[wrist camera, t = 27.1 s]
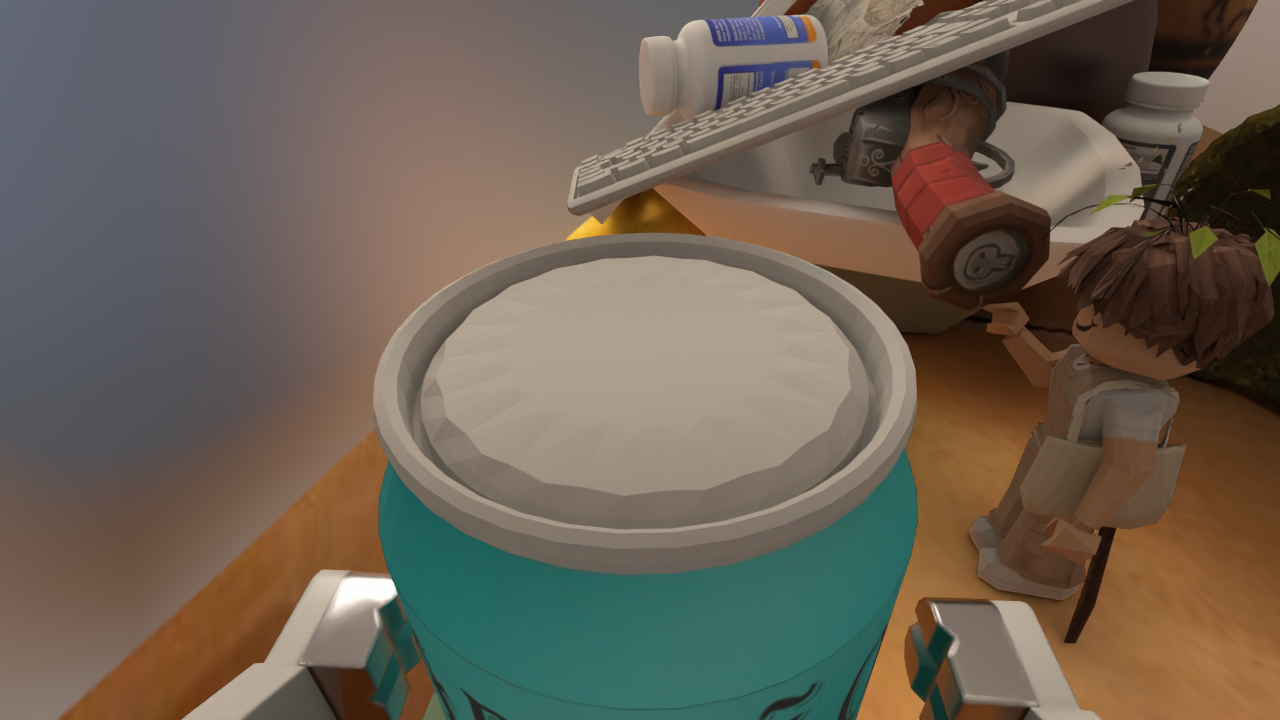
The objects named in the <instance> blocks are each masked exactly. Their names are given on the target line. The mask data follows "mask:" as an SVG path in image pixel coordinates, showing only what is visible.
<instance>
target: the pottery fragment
mask: <svg viewBox="0 0 1280 720" xmlns="http://www.w3.org/2000/svg"><path fill="white" fill-rule="evenodd" d="M1188 166H1189V167H1187V169H1186V170H1185V171H1184V172H1183V173H1182V175H1181V177H1180V178H1179V179H1178V180H1177V181H1176V184H1175V185H1176V186H1174V188H1175V190H1178V189H1180V190H1179V192H1178V193H1179V194H1180V195H1181V197H1183V196H1184V197H1183V199H1184V200H1185V201H1186V217H1187V219H1188V221H1189V222H1194V223H1199V221H1200V220H1201V219H1202V218H1203V216H1204V215H1205V214H1206V213H1207V212H1208V211H1210V210H1212V209H1213V207H1216V208H1218V207H1219V206H1220V205H1221V204H1222V203H1223V202H1224V201H1225V200H1226V199H1227V198H1228V197H1229V196H1230V195H1231V194H1233V195H1231V196H1230V197H1229V198H1228V199H1227V200H1226V201H1225V202H1224V203H1223V204H1222V205H1221V206H1220V207H1219V208H1221V209H1223V210H1225V211H1226V212H1228V213H1230V214H1231V215H1233V216H1234V215H1237V216H1238V217H1237V216H1234V217H1236V218H1238V219H1239V220H1238V219H1236V218H1234V217H1233V216H1232V217H1229V216H1231V215H1229V214H1228V215H1229V216H1228V217H1229V218H1230V219H1231V221H1232V222H1233V223H1234V224H1235V226H1237V228H1238V229H1239V230H1238V229H1237V228H1236V227H1235V226H1234V225H1233V224H1232V222H1231V221H1230V220H1229V223H1230V226H1231V229H1230V226H1229V233H1231V234H1233V235H1240V234H1241V233H1242V234H1248V235H1249V236H1250V238H1252V239H1255V240H1259V238H1260V237H1261V236H1262V235H1263V234H1264V233H1265V230H1264V229H1263V228H1259V227H1262V226H1261V224H1260V223H1259V222H1258V221H1257V219H1256V218H1255V217H1254V215H1253V214H1252V213H1249V211H1250V212H1253V213H1254V214H1255V215H1256V217H1257V218H1258V219H1259V221H1260V222H1261V223H1262V225H1263V226H1264V227H1265V228H1269V229H1271V230H1274V231H1275V232H1276V233H1277V234H1278V235H1279V236H1280V200H1277V199H1279V198H1280V105H1278V106H1276V107H1275V108H1273V109H1270V110H1266V111H1263V112H1261V113H1258V114H1256V115H1252V116H1250V117H1248V118H1247V119H1246V120H1245V121H1244V122H1243V123H1242V124H1240V125H1239V126H1237V127H1236V128H1234V129H1231V130H1229V131H1228V132H1227V133H1225V134H1223V135H1222V136H1220V137H1219V138H1217V139H1216V140H1214V141H1213V142H1212V143H1211V144H1210V145H1209V147H1208V148H1207V149H1206V150H1205V151H1204V152H1203V153H1202V154H1200V155H1199V156H1198V157H1197V158H1196V159H1195V160H1193V161H1192V162H1191V163H1190V164H1189V165H1188ZM1193 171H1194V172H1193ZM1192 172H1193V174H1192ZM1196 179H1197V180H1196ZM1192 188H1193V189H1192ZM1189 189H1191V190H1190V191H1188V190H1189ZM1249 189H1250V190H1251V191H1248V190H1249ZM1175 190H1173V191H1175ZM1252 190H1270V198H1271V200H1270V199H1268V198H1266V197H1264V196H1262V195H1260V194H1258V193H1256V192H1254V191H1252ZM1244 191H1247V192H1244ZM1240 192H1242V193H1240ZM1235 193H1238V194H1235ZM1179 194H1177V195H1175V194H1174V196H1175V198H1176V200H1177V202H1178V205H1179V207H1180V209H1181V211H1182V214H1183V216H1184V213H1183V211H1184V209H1185V202H1184V201H1183V199H1182V200H1180V198H1181V197H1180V196H1179ZM1174 196H1173V195H1172V202H1176V201H1175V199H1174ZM1176 196H1177V197H1176ZM1177 198H1178V199H1177ZM1178 200H1179V201H1178ZM1275 200H1277V201H1275ZM1272 201H1275V202H1272ZM1270 202H1272V203H1270ZM1179 203H1180V204H1179ZM1268 203H1270V204H1268ZM1265 204H1267V205H1265ZM1180 205H1181V206H1180ZM1210 205H1211V206H1210ZM1263 205H1265V206H1263ZM1212 206H1213V207H1212ZM1261 206H1262V207H1261ZM1181 207H1182V208H1181ZM1258 207H1260V208H1258ZM1256 208H1257V209H1256ZM1182 209H1183V210H1182ZM1254 209H1255V210H1254ZM1215 210H1216V209H1214V210H1212V211H1210V212H1208V213H1207V214H1206V216H1205V217H1204V219H1205V218H1206V217H1207V216H1210V215H1211V214H1212V213H1213V212H1214V211H1215ZM1251 210H1253V211H1251ZM1247 212H1248V213H1247ZM1244 213H1247V214H1244ZM1239 214H1243V215H1239ZM1171 217H1178V212H1177V209H1174V208H1169V211H1168V214H1167V218H1171ZM1224 217H1226V216H1225V214H1224V212H1222V211H1221V210H1218V209H1217V210H1216V211H1215V212H1214V213H1213V214H1212V215H1211V216H1210V218H1209V219H1208V224H1209V225H1210V226H1211V225H1212V224H1213V223H1215V222H1216V221H1217V220H1218V219H1219V218H1222V219H1220V220H1219V221H1218V222H1216V223H1215V224H1214V225H1213V226H1211V229H1225V230H1226V231H1227V218H1225V219H1224ZM1204 219H1203V220H1202V222H1203V221H1204ZM1221 220H1222V221H1221ZM1240 220H1241V221H1240ZM1176 221H1177V220H1176ZM1242 221H1243V222H1242ZM1177 222H1179V221H1177ZM1186 222H1187V220H1186ZM1202 222H1201V223H1202ZM1242 224H1243V225H1242ZM1245 224H1247V225H1245ZM1239 225H1240V226H1239ZM1249 225H1253V226H1249ZM1254 226H1259V227H1254ZM1233 227H1234V228H1233ZM1231 230H1232V232H1231ZM1266 230H1267V231H1269V232H1270V233H1271V234H1273V233H1272V232H1271V231H1270V230H1268V229H1266ZM1239 231H1240V232H1241V233H1240V232H1239ZM1273 235H1274V234H1273ZM1274 236H1275V237H1276V238H1277V239H1279V238H1278V237H1277V236H1276V235H1274ZM1255 240H1252V243H1256V242H1257V241H1255ZM1279 240H1280V239H1279ZM1256 253H1257V250H1256ZM1257 256H1258V253H1257ZM1258 257H1259V256H1258ZM1270 286H1271V291H1272V297H1273V306H1274V311H1275V313H1274V316H1273V318H1272V320H1271V322H1269V323H1268V324H1267V325H1265V326H1264V327H1263V328H1261V329H1260V330H1259V331H1257V332H1256V333H1255V334H1253V335H1252V336H1251V337H1249V338H1248V339H1247V340H1245V341H1244V340H1243V341H1244V342H1243V341H1242V343H1241V344H1240V345H1239V347H1238V348H1237V346H1238V345H1237V346H1236V348H1234V349H1232V350H1231V351H1230V352H1229V353H1228V355H1227V356H1226V357H1225V358H1224V359H1223V361H1222V362H1221V359H1222V357H1221V359H1220V360H1219V361H1218V358H1217V356H1215V357H1214V358H1213V360H1212V361H1211V360H1210V361H1211V362H1210V361H1209V363H1208V364H1207V366H1206V367H1205V369H1200V370H1197V371H1194V372H1192V373H1189V374H1186V375H1185V376H1187V375H1195V377H1196V378H1197V379H1198V380H1200V379H1205V380H1212V381H1219V380H1224V381H1228V382H1230V383H1232V384H1234V385H1238V386H1241V387H1243V388H1246V389H1248V390H1251V391H1254V392H1256V393H1257V394H1261V395H1263V396H1265V397H1266V398H1269V399H1271V400H1273V401H1274V402H1276V403H1278V404H1279V405H1280V271H1279V273H1278V274H1277V276H1276V277H1275V279H1274V281H1273V282H1272V284H1271V285H1270ZM1220 362H1221V363H1220Z"/></svg>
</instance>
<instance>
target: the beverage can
mask: <svg viewBox="0 0 1280 720" xmlns="http://www.w3.org/2000/svg"><path fill="white" fill-rule="evenodd" d="M916 412H917V387H916V369H915V366H914V363H913V360H912V357H911V354H910V351H909V348H908V345H907V344H906V342H905V340H904V339H903V337H902V335H901V334H900V332H899V330H898V329H897V327H896V326H895V324H894V323H893V322H892V321H891V319H890V318H889V317H888V316H887V315H886V314H885V313H884V312H883V311H882V310H881V309H880V307H879V306H878V305H877V304H876V303H874V302H873V301H872V300H871V299H869V298H868V297H867V296H866V295H864V294H863V293H862V292H861V291H859V290H858V289H857V288H856V287H854V286H852V285H851V284H849V283H847V282H846V281H844V280H842V279H841V278H839V277H837V276H836V275H834V274H832V273H831V272H829V271H827V270H824V269H822V268H820V267H818V266H816V265H814V264H811V263H809V262H807V261H805V260H802V259H799V258H797V257H794V256H791V255H788V254H785V253H782V252H780V251H777V250H773V249H769V248H765V247H762V246H758V245H754V244H750V243H746V242H740V241H735V240H729V239H724V238H718V237H710V236H701V235H691V234H674V233H626V234H615V235H603V236H594V237H587V238H581V239H575V240H568V241H563V242H559V243H554V244H550V245H546V246H541V247H537V248H534V249H530V250H527V251H524V252H521V253H517V254H514V255H511V256H508V257H505V258H503V259H500V260H498V261H496V262H493V263H490V264H488V265H485V266H483V267H481V268H479V269H477V270H475V271H473V272H471V273H469V274H467V275H465V276H463V277H461V278H459V279H457V280H455V281H454V282H452V283H451V284H449V285H448V286H446V287H445V288H443V289H442V290H440V291H439V292H437V293H436V294H434V295H433V296H431V297H430V298H429V299H428V300H427V301H425V302H424V303H423V304H422V305H421V306H420V307H418V308H417V309H416V310H415V311H414V312H413V313H411V314H410V316H409V317H408V318H407V319H406V320H405V321H404V323H403V324H402V325H401V326H400V327H399V329H398V330H397V331H396V332H395V333H394V335H393V337H392V338H391V340H390V342H389V343H388V345H387V347H386V349H385V351H384V352H383V354H382V356H381V358H380V362H379V365H378V369H377V372H376V376H375V379H374V411H373V413H374V414H373V419H374V423H375V427H376V430H377V434H378V438H379V441H380V445H381V448H382V449H383V451H384V453H385V454H386V456H387V458H388V463H387V467H386V470H385V474H384V479H383V483H382V488H381V492H380V497H379V536H380V540H381V544H382V549H383V553H384V557H385V562H386V566H387V568H388V571H389V574H390V576H391V579H392V581H393V584H394V586H395V589H396V592H397V594H398V597H399V599H400V602H401V604H402V607H403V610H404V612H405V615H406V617H407V620H408V622H409V625H410V628H411V630H412V633H413V635H414V638H415V640H416V643H417V646H418V648H419V651H420V653H421V656H422V658H423V661H424V664H425V666H426V669H427V671H428V674H429V676H430V679H431V682H432V684H433V687H434V689H435V692H436V694H437V697H438V700H439V702H440V705H441V707H442V710H443V712H444V715H445V717H446V720H856V718H857V715H858V712H859V709H860V706H861V703H862V700H863V697H864V694H865V691H866V688H867V685H868V682H869V679H870V676H871V673H872V670H873V667H874V664H875V661H876V658H877V655H878V652H879V649H880V646H881V644H882V641H883V638H884V635H885V632H886V629H887V626H888V623H889V620H890V617H891V614H892V611H893V608H894V605H895V602H896V599H897V596H898V593H899V590H900V587H901V584H902V581H903V578H904V575H905V572H906V569H907V566H908V563H909V560H910V557H911V553H912V548H913V543H914V538H915V533H916V528H917V523H918V520H917V490H916V486H915V482H914V478H913V475H912V471H911V467H910V463H909V459H908V457H907V454H906V450H905V445H906V444H907V442H908V440H909V438H910V436H911V432H912V428H913V424H914V420H915V416H916Z"/></svg>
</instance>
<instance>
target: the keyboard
mask: <svg viewBox="0 0 1280 720" xmlns="http://www.w3.org/2000/svg"><path fill="white" fill-rule="evenodd" d="M1132 1H1134V0H988V1H983V2H979V3H977V4H975V5H973V6H971V7H968V8H965V9H963V11H956V12H954V13H952V14H950V15H948V16H945V17H942V18H939V21H938V23H935V24H933V25H930V26H927V25H924V26H918V27H916V28H914V29H912V30H910V31H907V32H904V33H903V36H902V35H900V36H895V37H892V38H890V39H888V40H885V41H882V42H879V46H878V45H871V46H869V47H867V48H865V49H862V50H859V51H856V52H855V56H853V55H847V56H845V57H842V58H840V59H838V60H835V61H832V62H831V65H830V66H827V67H824V68H822V69H818V68H813V69H811V70H809V71H807V72H805V73H802V74H799V75H797V79H794V78H789V79H787V80H785V81H783V82H780V83H777V84H774V88H772V89H771V88H769V87H766V88H764V89H762V90H759V91H757V92H753V93H751V94H750V97H749V98H747V97H744V96H743V97H741V98H739V99H737V100H735V101H732V102H729V103H727V106H726V107H724V108H721V109H719V110H716V111H714V112H712V110H708V111H706V112H704V113H702V114H699V115H696V116H694V117H693V118H694V120H691V121H689V120H688V119H686V120H684V121H682V122H679V123H676V124H673V125H671V129H669V130H666V129H665V128H663V129H661V130H659V131H657V132H654V133H650V134H648V136H649V137H648V138H646V139H643V137H640V138H638V139H636V140H634V141H631V142H628V143H626V144H627V146H626V147H623V148H621V149H618V150H616V151H613V152H611V153H608V154H606V155H603V156H601V157H599V156H598V155H596V156H593V157H591V158H589V159H586V160H583V161H582V166H580V167H578V168H575V171H574V175H573V180H572V184H571V188H570V192H569V197H568V201H567V207H568V210H569V212H570V213H571V214H574V215H577V216H580V215H584V214H586V213H589V212H592V211H594V210H597V209H599V208H602V207H604V206H607V205H610V204H612V203H615V202H617V201H620V200H622V199H625V198H628V197H630V196H633V195H635V194H638V193H640V192H643V191H646V190H648V189H651V188H653V187H656V186H658V185H661V184H664V183H666V182H669V181H671V180H674V179H676V178H679V177H682V176H684V175H687V174H689V173H692V172H694V171H697V170H700V169H702V168H705V167H707V166H710V165H712V164H715V163H718V162H720V161H723V160H725V159H728V158H730V157H733V156H736V155H738V154H741V153H743V152H746V151H748V150H751V149H754V148H756V147H759V146H761V145H764V144H766V143H769V142H772V141H774V140H777V139H779V138H782V137H784V136H787V135H790V134H792V133H795V132H797V131H800V130H802V129H805V128H808V127H810V126H813V125H815V124H818V123H820V122H823V121H826V120H828V119H831V118H833V117H836V116H838V115H841V114H844V113H846V112H849V111H851V110H854V109H856V108H859V107H862V106H864V105H867V104H869V103H872V102H874V101H877V100H880V99H882V98H885V97H887V96H890V95H892V94H895V93H898V92H900V91H903V90H905V89H908V88H910V87H913V86H916V85H918V84H921V83H923V82H926V81H928V80H931V79H934V78H936V77H939V76H941V75H944V74H946V73H949V72H952V71H954V70H957V69H959V68H962V67H964V66H967V65H970V64H972V63H975V62H977V61H980V60H982V59H985V58H988V57H990V56H993V55H995V54H998V53H1000V52H1003V51H1006V50H1008V49H1011V48H1013V47H1016V46H1018V45H1021V44H1024V43H1026V42H1029V41H1031V40H1034V39H1036V38H1039V37H1042V36H1044V35H1047V34H1049V33H1052V32H1054V31H1057V30H1060V29H1062V28H1065V27H1067V26H1070V25H1072V24H1075V23H1078V22H1080V21H1083V20H1085V19H1088V18H1090V17H1093V16H1096V15H1098V14H1101V13H1103V12H1106V11H1108V10H1111V9H1114V8H1116V7H1119V6H1121V5H1124V4H1126V3H1129V2H1132Z"/></svg>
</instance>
